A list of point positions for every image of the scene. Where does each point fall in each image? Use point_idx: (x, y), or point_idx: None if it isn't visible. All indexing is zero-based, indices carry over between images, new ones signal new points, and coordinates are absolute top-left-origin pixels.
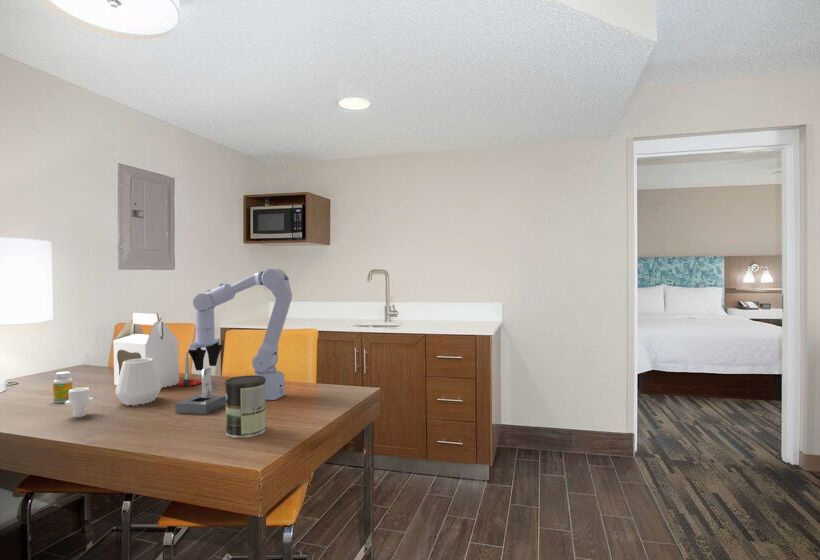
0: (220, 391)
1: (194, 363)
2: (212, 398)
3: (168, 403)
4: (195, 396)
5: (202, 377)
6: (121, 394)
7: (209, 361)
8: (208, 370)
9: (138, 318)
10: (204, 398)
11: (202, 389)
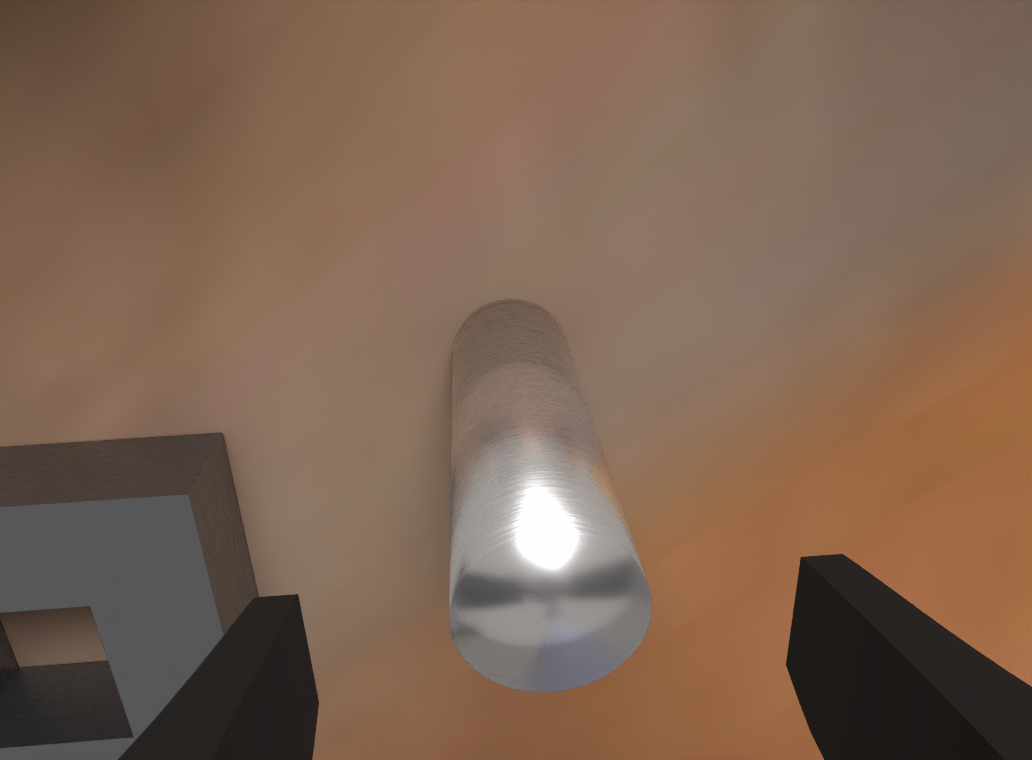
0: (854, 308)
1: (162, 724)
2: (119, 752)
3: (100, 14)
4: (110, 532)
5: (452, 494)
6: None
7: (856, 625)
8: (504, 669)
9: None
10: (111, 656)
11: (458, 384)
